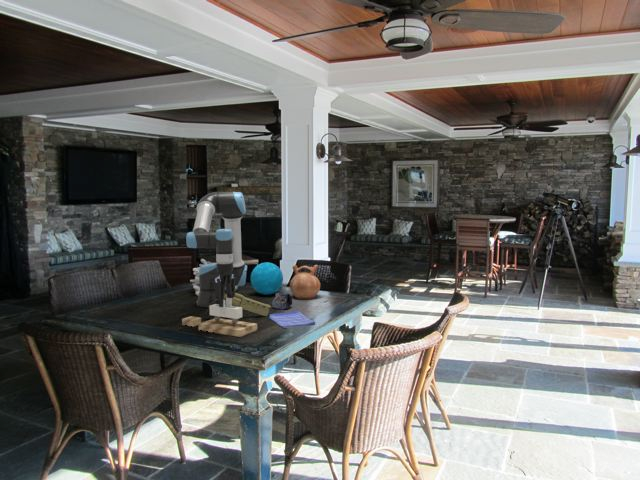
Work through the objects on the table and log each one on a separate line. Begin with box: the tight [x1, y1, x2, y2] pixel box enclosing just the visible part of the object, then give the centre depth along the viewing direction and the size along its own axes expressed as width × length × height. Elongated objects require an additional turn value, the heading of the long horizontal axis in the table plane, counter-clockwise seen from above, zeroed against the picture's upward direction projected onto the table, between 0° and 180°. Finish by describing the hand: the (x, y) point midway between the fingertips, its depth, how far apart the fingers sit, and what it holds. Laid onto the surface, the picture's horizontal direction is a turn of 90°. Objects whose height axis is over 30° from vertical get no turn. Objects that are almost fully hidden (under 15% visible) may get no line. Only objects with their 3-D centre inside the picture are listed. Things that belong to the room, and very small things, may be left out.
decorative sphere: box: [250, 261, 284, 296], centre depth 327 cm, size 20×20×20 cm
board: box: [197, 317, 258, 338], centre depth 246 cm, size 24×13×3 cm, turn 61°
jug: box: [289, 264, 321, 300], centre depth 319 cm, size 18×18×20 cm
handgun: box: [204, 291, 272, 320], centre depth 270 cm, size 4×30×16 cm, turn 103°
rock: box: [272, 292, 293, 310], centre depth 292 cm, size 11×10×10 cm
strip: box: [208, 304, 243, 323], centre depth 246 cm, size 16×4×7 cm, turn 61°
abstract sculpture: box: [189, 258, 239, 297], centre depth 334 cm, size 23×23×30 cm
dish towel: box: [268, 310, 316, 329], centre depth 263 cm, size 17×24×3 cm
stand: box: [181, 316, 202, 327], centre depth 256 cm, size 7×6×3 cm
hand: (225, 312), depth 245 cm, fingers closed on strip, 4 cm apart
